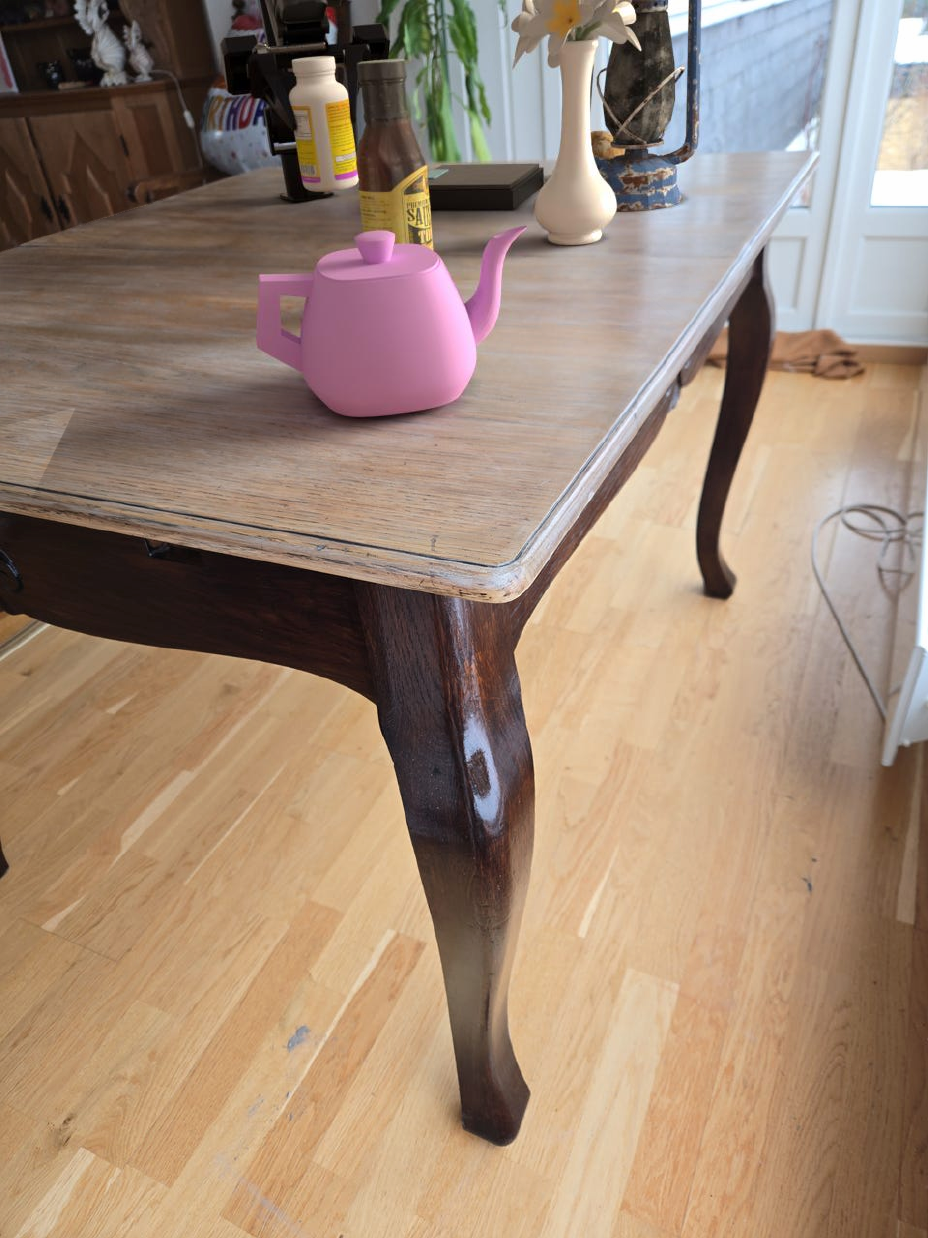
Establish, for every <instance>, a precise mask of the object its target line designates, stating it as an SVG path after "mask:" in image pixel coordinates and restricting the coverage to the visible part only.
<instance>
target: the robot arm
mask: <svg viewBox="0 0 928 1238" xmlns="http://www.w3.org/2000/svg"><path fill="white" fill-rule="evenodd" d="M257 1H258V8H259V13H260V18H261V22H262V29H263V34H264V39H265V42H264V41H263V42H262V41H261V42H258V40H257V36H256V34H244V35H233V36H223V37H222V39H221V40H220V43H219V49H220V57H221V66H222V72H223V78H224V82H225V87H226V91H227V93H228V94H229V95H231V96H244V95H251V97H252V98H253V99H255V100H258V99H260V100H261V101H263V102H264V103H265V104H266V106H265V107H263V114H264V122H265V130H266V137H267V142H268V143H267V144H268V148H269V153H270V154H271V155H270V156H271V157H276V156H280V161H281V166H282V167H281V168H282V173H283V179H284V185H285V192H280V193H278V195H279V198H281V199H284V200H287V201H290V202H291V203H292V202H293V203H300V202H306V201H311V200H312V201H313V200H317V199H321V198H322V199H323V198H327V197H328V198H329V197H333V196H335V193H334V191H322V192H316V191H310V190H308V189H306V188H305V187H304V185H303V182H302V177H301V171H300V165H299V159H298V153H297V147H296V140H295V134H294V131H296V123H295V119H294V114H293V111H292V108H291V105H290V102H289V94H290V91H291V90H292V89H293V88H294V87H295V86H296V85H297V79H296V76H295V73H293V67H292V60H294V59H299V58H307V57H319V56H333V57H334V59H335V66H336V68H342V70H343V81H342V82H343V84H342V85H343V86H344V87H345V88H346V90H347V93H348V98H349V106H350V114H351V122H352V125H356V122H357V111H358V110H357V109H358V98H359V94H360V91H361V89H362V88H361V85H360V83H359V80H358V73H357V63H359V62H365V61H374V60H388V59H389V57H390V48H391V39H390V35H389V31H388V29H387V27H386V26H385V25H384V24H383V23H381V22H377V23H365V24H355V25H354V24H353V25H350V27H349V28H350V31H349V32H350V33H349V42H340V43H329V41H328V38H327V37H328V36H327V35H328V34H329V35H330V33H331V31H330V30H331V29H330V28H331V23H330V21H329V18H328V13H327V9H328V8H335V7H336V8H337V7H340V6H341V3H342V0H257ZM289 143H293V144H289ZM275 144H278V145H276V146H275ZM281 144H285V145H281Z"/></svg>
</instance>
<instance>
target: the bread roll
mask: <svg viewBox="0 0 928 1238" xmlns="http://www.w3.org/2000/svg"><path fill="white" fill-rule="evenodd" d="M612 141H613V136H612V135H611V133H610V132H609V131H606V130H593V131H592V130H591V145H592V152H593V154H594V155H596V156H598V157H601V158H607V159H610V158H614V157H615V156H618V155H623V154H625V150H626V149H618V148H613V147H611V145H610V144H611V142H612Z"/></svg>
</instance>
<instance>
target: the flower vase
mask: <svg viewBox="0 0 928 1238" xmlns="http://www.w3.org/2000/svg"><path fill="white" fill-rule="evenodd" d="M631 2H632V0H522V3H521V12H520V14H518V15H517V16H515V18H514V19H513V20H512V22H511V24H510V29H511V30H512V32H514V33H518V36H519V37H518V40H517V42H516V43H517V44H516V48H515V52H514V59H513V64H512V70H514V69H515V66H516V65H517V64H518V62H519V61H520V59H521V58H522V56H523V55H524V53H526V54H532V53H533V51H534V50H535V49H536V48H537V47H538V46H539V44H540V43H541V42H542V41H543V40H544V39H545V38H546V37H547V36H548V35H549V37H548V39H547V51H548V55H547V65H548V67H549V68H551V69H556V68H558V67H559V72H560V77H561V80H560V81H561V119H560V121H561V124H560V138H559V139H560V141H559V142H560V143H559V149H558V154H557V158H556V161H555V165H554V167H553V170H552V172H551V175H550V176H549V178H548V179H547V181H546V182H544V186H543V187H541V188H540V189H539V190H538V193H537V195H536V197H535V199H534V203H533V215H534V218H535V220H536V222H537V223H538V224H539V226H540V227H541V228H542V229H543V230H545V231H547V232H548V233H547V240H548V241H549V242H550V243H551V244H555V245H560V246H581V245H588V244H592V243H595V242H597V241H599V240H601V238H602V236H603V232H602V229H604V228H606V227H607V226H608V225H609V224H610V222H611V221H612V219H613V218H614V216H615V215H616V213H617V211H616V210H617V202H616V197H615V194H614V192H613V190H612V189H611V187H610V185H609V184H608V183H607V182H606V180H605V179H604V178H603V177H602V176H601V174H600V173H599V171H598V168H597V166H596V163H595V160H594V156H593V152H592V145H591V132H592V130H591V112H590V86H591V75H592V68H593V65H594V66H595V57H596V53H597V49H598V47H599V45H600V42H599V37H603V38H605V39H608V40H609V41H611V42H612V43H613V42H615V43H618V44H624V43H625V42H626V40H627V39H628V40H629V41H630V42H631V43H632V44H633V45H634V46H635V47H636V48H637V49H639V50H640V51H641V47H640V44H639V42H638V39H637V37H636V35H635V34H634V32H633V31H632V30H631V29H630V28H629V27H626V26H625V25H628V24H632V23H634V22H635V20H636V14H635V10H634V8H633V6H632V5H631ZM594 56H595V57H594Z"/></svg>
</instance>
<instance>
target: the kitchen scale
mask: <svg viewBox="0 0 928 1238" xmlns="http://www.w3.org/2000/svg"><path fill="white" fill-rule="evenodd" d="M544 170H545V169H544V167H543V166H542V167H541V166H540V163H487V164H486V163H485V164H483V163H482V164H479V163H478V164H476V163H475V164H441V165H439V166H437V167H436V168H434V169H431V170H430V171H427V174H428V188H429V200H430V211H514V210H516V208H518V207H519V206H521V204H523V203H524V202H525V201H527V200H528V199H529V198H530V197H532V196H533V195H534V194H535V193H536V192H539V191H540V190H541V188H542V187H543V186H544V184H545V180H544V179H545V176H544V175H545V174H544V173H545V171H544Z"/></svg>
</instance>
